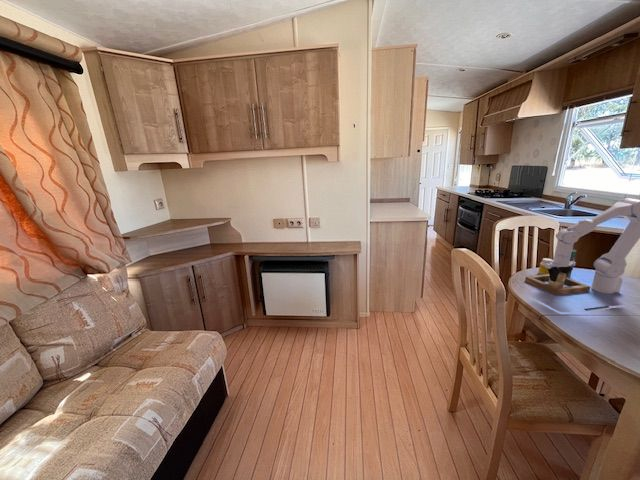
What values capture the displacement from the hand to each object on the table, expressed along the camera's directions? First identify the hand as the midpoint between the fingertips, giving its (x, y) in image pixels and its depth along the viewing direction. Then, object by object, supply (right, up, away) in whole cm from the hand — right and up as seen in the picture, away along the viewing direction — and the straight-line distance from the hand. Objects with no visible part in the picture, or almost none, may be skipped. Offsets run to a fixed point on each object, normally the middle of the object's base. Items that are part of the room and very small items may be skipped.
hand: (556, 280), depth 128 cm
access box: (0, -4, +1) cm, 4 cm away
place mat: (0, -8, -13) cm, 15 cm away
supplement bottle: (+6, 0, +14) cm, 16 cm away
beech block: (0, -3, +1) cm, 3 cm away
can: (+16, 0, +14) cm, 21 cm away
